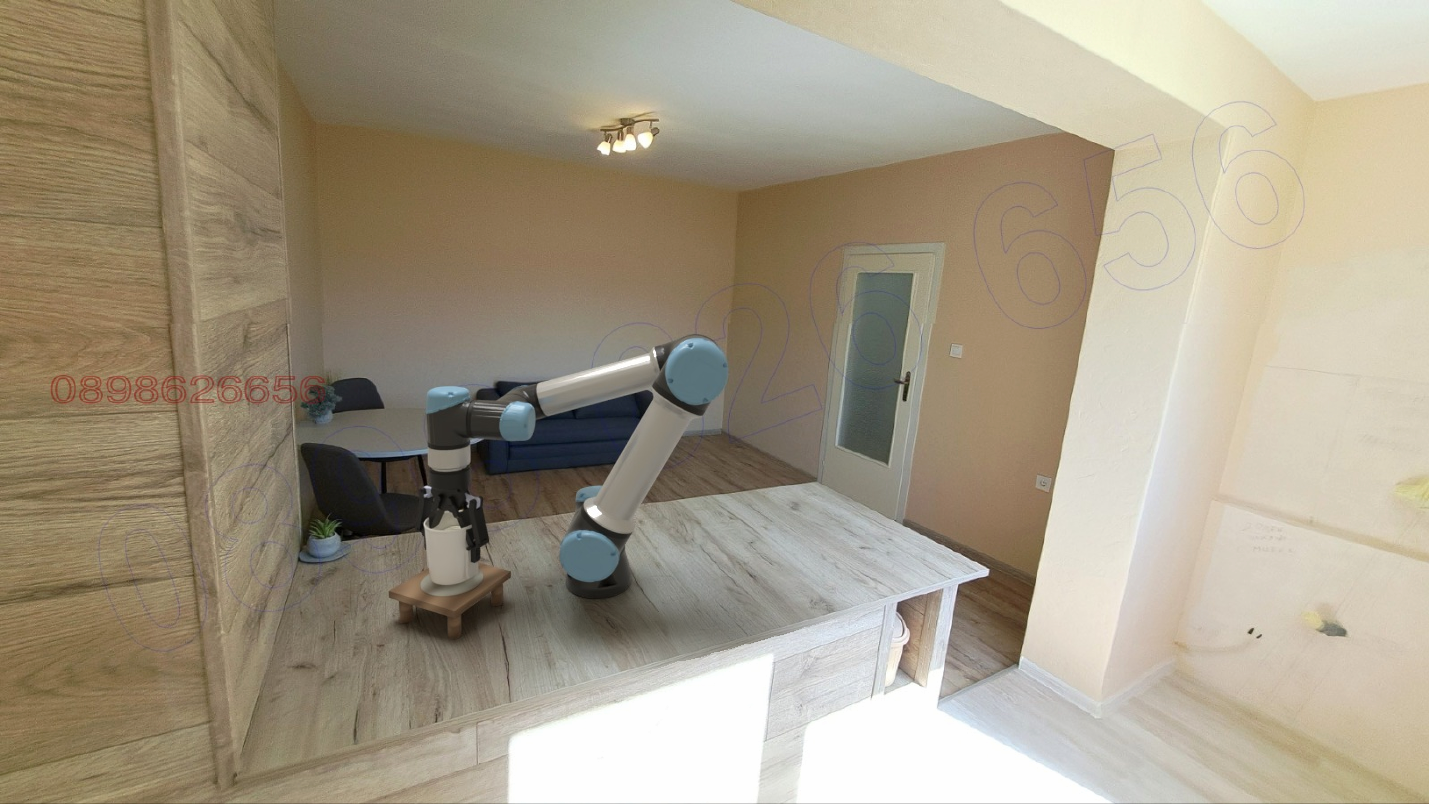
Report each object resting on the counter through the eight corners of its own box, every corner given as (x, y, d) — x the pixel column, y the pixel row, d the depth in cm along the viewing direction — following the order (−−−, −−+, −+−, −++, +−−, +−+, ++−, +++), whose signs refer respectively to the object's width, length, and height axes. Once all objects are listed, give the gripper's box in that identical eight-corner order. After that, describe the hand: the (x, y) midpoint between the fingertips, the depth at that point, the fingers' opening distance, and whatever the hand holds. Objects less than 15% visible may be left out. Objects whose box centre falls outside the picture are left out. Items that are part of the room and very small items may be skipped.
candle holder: (414, 582, 107) (411, 526, 104) (448, 559, 116) (446, 507, 114) (458, 591, 105) (456, 534, 102) (488, 567, 114) (488, 514, 112)
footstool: (510, 600, 117) (511, 570, 116) (455, 644, 102) (454, 610, 101) (451, 583, 122) (451, 554, 121) (390, 622, 107) (388, 589, 106)
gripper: (508, 469, 106) (509, 573, 111) (421, 451, 112) (425, 550, 117) (481, 481, 99) (483, 591, 104) (390, 461, 105) (395, 566, 110)
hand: (452, 569), depth 110 cm, fingers closed on candle holder, 9 cm apart
